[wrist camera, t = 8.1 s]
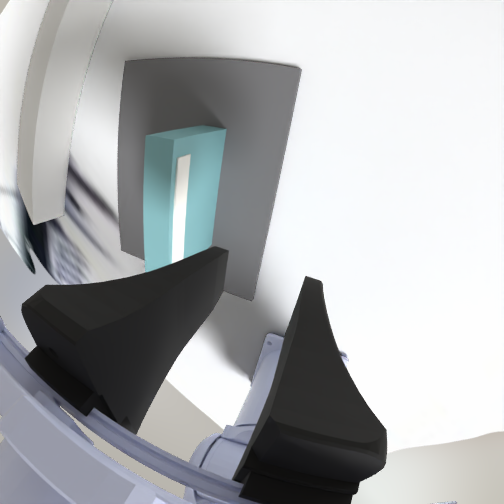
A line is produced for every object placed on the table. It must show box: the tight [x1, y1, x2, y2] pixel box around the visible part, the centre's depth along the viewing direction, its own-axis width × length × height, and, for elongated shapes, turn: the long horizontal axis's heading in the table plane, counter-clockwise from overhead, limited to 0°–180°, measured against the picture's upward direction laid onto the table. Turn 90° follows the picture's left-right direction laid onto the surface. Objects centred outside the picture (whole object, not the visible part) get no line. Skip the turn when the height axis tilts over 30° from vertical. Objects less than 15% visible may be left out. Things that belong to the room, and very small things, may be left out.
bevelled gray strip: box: [17, 0, 113, 225], centre depth 18 cm, size 34×5×10 cm
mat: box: [118, 58, 302, 301], centre depth 20 cm, size 18×14×1 cm
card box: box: [143, 125, 227, 272], centre depth 17 cm, size 9×2×6 cm, turn 170°
